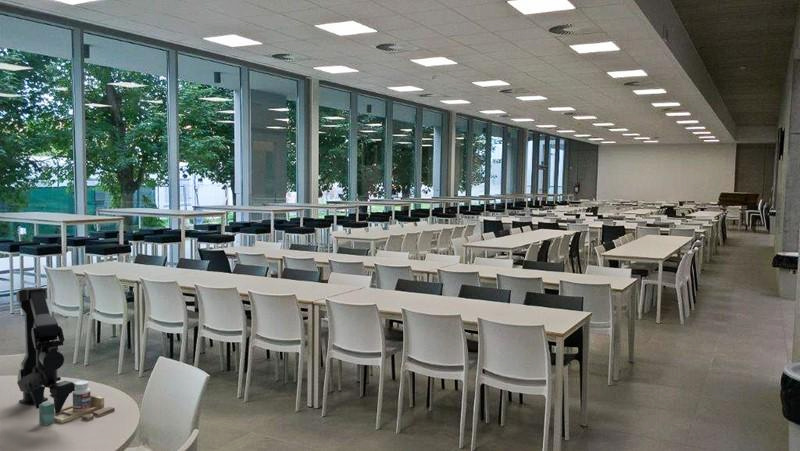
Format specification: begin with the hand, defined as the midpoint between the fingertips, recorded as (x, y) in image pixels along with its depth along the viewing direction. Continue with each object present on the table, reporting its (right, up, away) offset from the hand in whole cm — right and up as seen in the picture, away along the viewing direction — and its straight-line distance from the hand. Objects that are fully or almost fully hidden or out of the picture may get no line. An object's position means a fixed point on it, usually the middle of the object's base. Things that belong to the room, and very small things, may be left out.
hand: (47, 410), depth 199 cm
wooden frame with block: (+3, -3, +7) cm, 8 cm away
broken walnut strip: (+12, -4, +8) cm, 15 cm away
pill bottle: (+5, -3, +11) cm, 12 cm away
